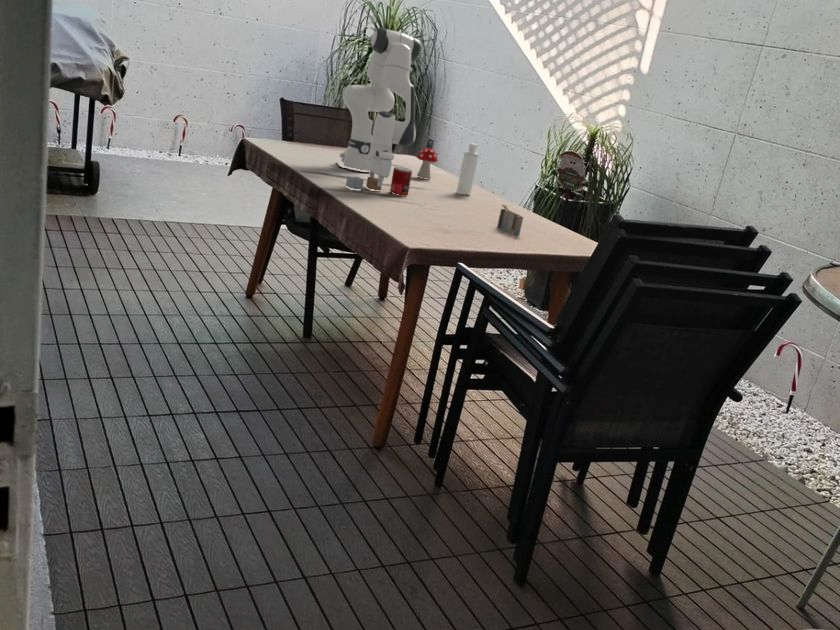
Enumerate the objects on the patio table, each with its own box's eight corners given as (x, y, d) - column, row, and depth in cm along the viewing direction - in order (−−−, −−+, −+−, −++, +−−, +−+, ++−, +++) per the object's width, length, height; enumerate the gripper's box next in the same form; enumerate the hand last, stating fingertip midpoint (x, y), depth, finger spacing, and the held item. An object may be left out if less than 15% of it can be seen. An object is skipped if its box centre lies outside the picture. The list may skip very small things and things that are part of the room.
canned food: (404, 197, 343) (408, 171, 339) (386, 192, 345) (391, 167, 341) (410, 195, 350) (414, 169, 346) (393, 190, 352) (397, 165, 348)
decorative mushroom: (434, 179, 404) (439, 149, 399) (432, 181, 396) (438, 151, 391) (414, 175, 404) (419, 145, 399) (412, 177, 396) (418, 147, 391)
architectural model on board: (496, 227, 319) (501, 203, 316) (502, 228, 321) (507, 204, 318) (512, 235, 310) (518, 211, 307) (518, 236, 312) (524, 211, 309)
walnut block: (365, 188, 346) (367, 176, 344) (376, 189, 348) (378, 178, 346) (369, 191, 342) (371, 179, 340) (380, 192, 344) (382, 180, 342)
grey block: (345, 188, 338) (347, 176, 336) (355, 188, 341) (357, 177, 339) (351, 191, 334) (353, 179, 332) (361, 191, 337) (363, 179, 335)
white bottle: (469, 196, 375) (480, 142, 367) (455, 193, 376) (466, 139, 368) (471, 194, 381) (482, 141, 373) (457, 191, 382) (468, 138, 374)
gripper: (365, 146, 347) (360, 178, 351) (381, 154, 330) (375, 188, 334) (379, 148, 350) (374, 179, 354) (395, 156, 332) (389, 189, 336)
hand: (375, 183), depth 344 cm, fingers open, 8 cm apart
